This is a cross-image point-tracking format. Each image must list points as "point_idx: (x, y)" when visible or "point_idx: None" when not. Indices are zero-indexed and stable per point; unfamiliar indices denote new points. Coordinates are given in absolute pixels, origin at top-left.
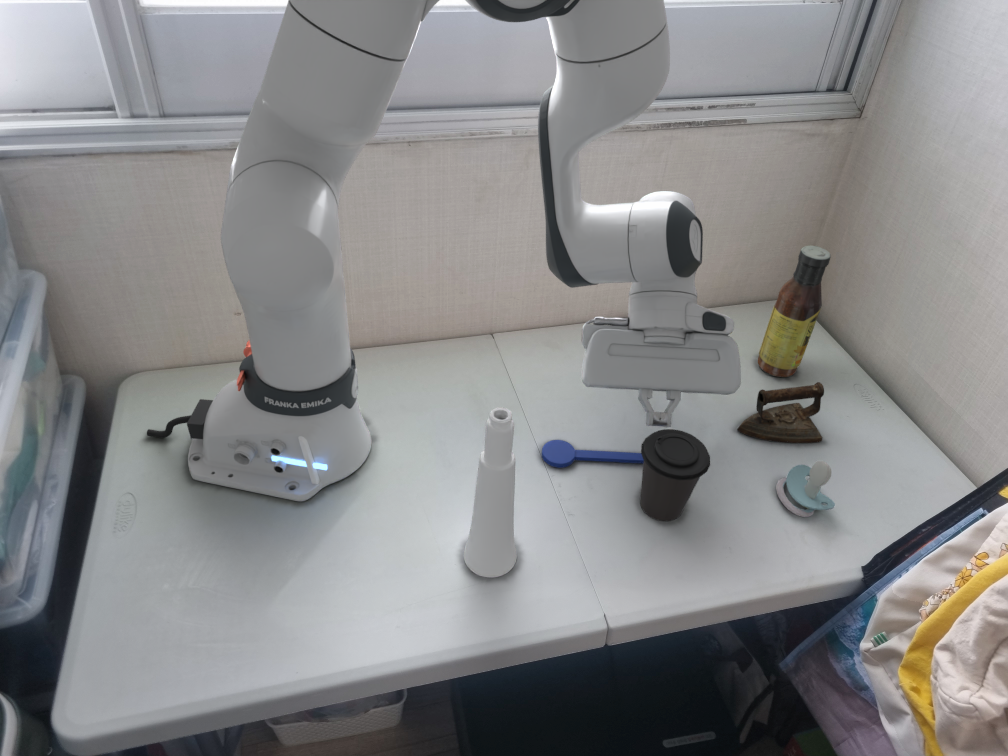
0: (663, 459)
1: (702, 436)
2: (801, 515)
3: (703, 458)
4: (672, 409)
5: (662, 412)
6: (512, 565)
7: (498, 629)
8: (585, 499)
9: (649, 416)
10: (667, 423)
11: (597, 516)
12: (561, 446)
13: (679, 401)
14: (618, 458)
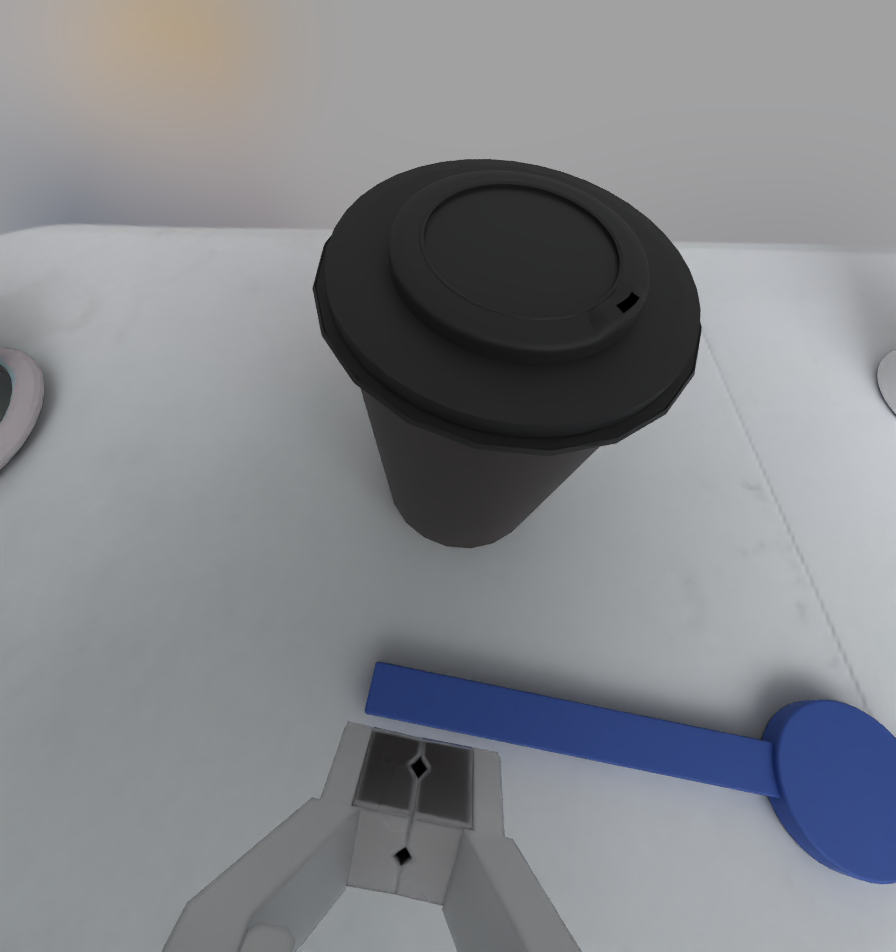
0: (616, 214)
1: (83, 857)
2: (22, 353)
3: (382, 208)
4: (306, 821)
5: (395, 812)
6: (888, 357)
7: (867, 265)
8: (709, 536)
9: (499, 798)
10: (371, 732)
11: (672, 469)
12: (849, 820)
13: (210, 885)
14: (583, 707)
